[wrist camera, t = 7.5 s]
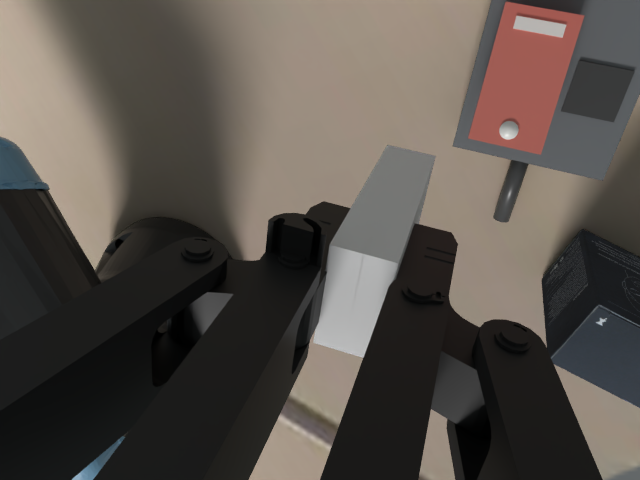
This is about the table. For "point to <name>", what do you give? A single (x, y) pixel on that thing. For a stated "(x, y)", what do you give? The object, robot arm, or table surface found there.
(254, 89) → the table surface
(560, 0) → the power strip
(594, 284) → the box
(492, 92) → the red rectangular panel
